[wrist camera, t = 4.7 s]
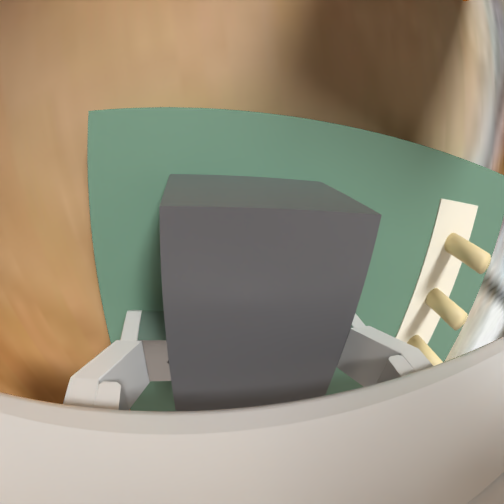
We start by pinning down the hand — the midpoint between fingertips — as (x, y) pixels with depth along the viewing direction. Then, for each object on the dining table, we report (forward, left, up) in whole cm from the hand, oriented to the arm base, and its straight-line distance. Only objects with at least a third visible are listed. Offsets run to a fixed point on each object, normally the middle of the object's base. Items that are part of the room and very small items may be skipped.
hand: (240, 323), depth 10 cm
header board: (0, +5, -2) cm, 5 cm away
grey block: (+2, 0, -1) cm, 2 cm away
